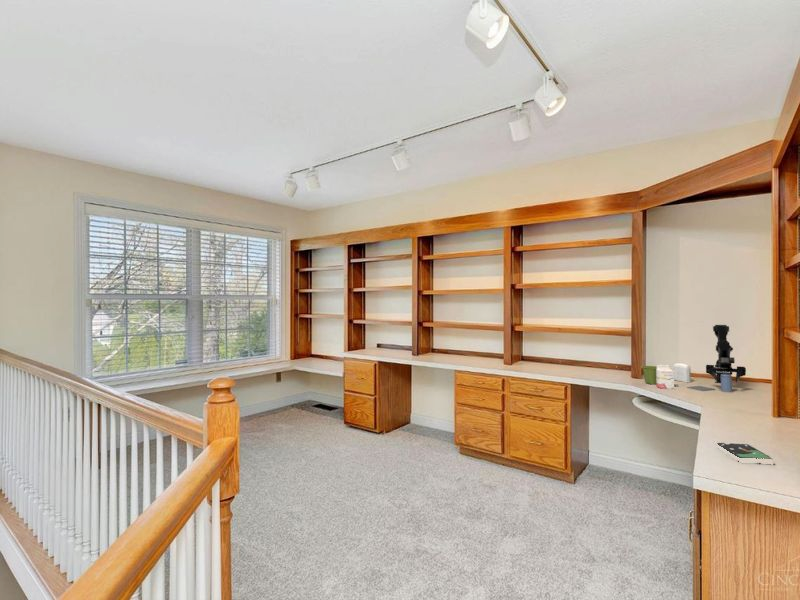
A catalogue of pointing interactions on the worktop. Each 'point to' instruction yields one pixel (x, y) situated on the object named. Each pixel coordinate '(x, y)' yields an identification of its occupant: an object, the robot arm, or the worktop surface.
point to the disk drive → (744, 451)
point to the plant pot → (650, 374)
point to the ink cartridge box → (664, 377)
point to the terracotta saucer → (727, 392)
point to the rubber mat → (701, 388)
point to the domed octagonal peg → (726, 383)
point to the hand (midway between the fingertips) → (726, 381)
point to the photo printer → (682, 372)
